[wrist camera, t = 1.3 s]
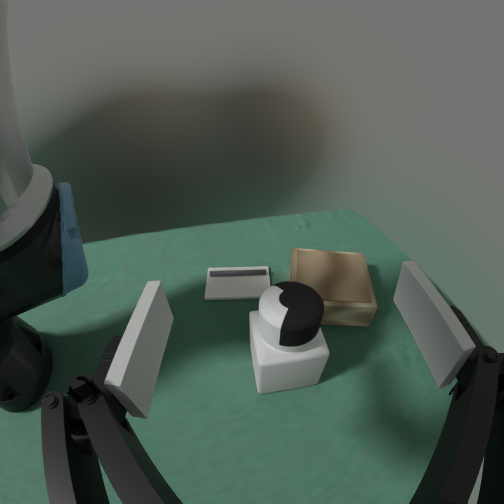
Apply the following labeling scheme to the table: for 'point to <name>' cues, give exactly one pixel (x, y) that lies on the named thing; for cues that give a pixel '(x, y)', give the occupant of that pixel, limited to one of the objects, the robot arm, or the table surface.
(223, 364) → the table surface
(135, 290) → the table surface
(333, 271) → the beech tray
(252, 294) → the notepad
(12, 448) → the table surface
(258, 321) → the medicine bottle
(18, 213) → the robot arm
